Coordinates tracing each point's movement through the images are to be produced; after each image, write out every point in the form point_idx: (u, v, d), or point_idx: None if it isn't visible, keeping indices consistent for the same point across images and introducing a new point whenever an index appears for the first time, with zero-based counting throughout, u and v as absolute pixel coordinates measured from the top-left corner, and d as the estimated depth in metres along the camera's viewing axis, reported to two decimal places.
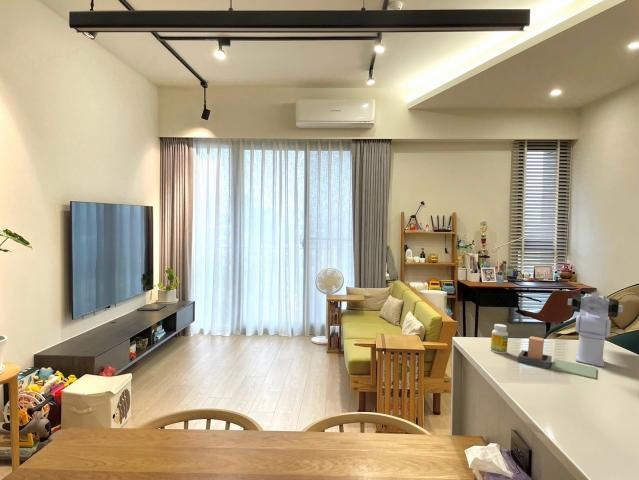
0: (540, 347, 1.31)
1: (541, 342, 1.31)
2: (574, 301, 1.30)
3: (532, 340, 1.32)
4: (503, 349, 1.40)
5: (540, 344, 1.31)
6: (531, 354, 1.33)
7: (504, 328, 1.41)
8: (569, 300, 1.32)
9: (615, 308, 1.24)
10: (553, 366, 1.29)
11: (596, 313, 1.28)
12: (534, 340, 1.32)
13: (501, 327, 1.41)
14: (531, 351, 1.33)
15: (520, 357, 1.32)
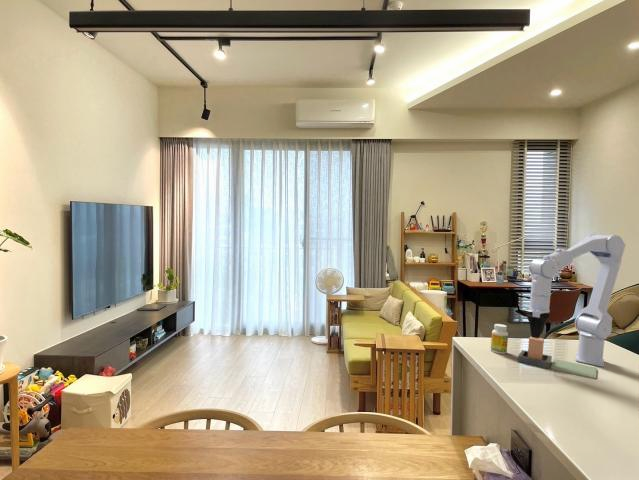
0: (540, 347, 1.31)
1: (541, 342, 1.31)
2: None
3: (532, 340, 1.32)
4: (503, 349, 1.40)
5: (540, 344, 1.31)
6: (531, 354, 1.33)
7: (504, 328, 1.41)
8: None
9: None
10: (553, 366, 1.29)
11: None
12: (534, 340, 1.32)
13: (501, 327, 1.41)
14: (531, 351, 1.33)
15: (520, 357, 1.32)
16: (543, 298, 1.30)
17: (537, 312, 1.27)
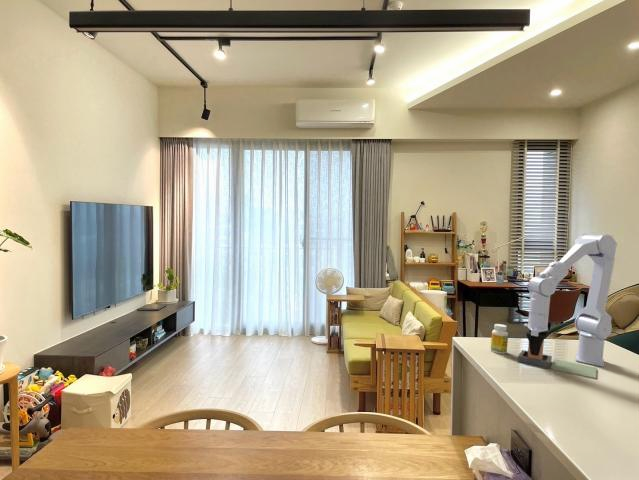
0: None
1: None
2: None
3: None
4: (503, 349, 1.40)
5: None
6: None
7: (504, 328, 1.41)
8: None
9: None
10: (553, 366, 1.29)
11: None
12: None
13: (501, 327, 1.41)
14: None
15: (520, 357, 1.32)
16: (541, 316, 1.30)
17: (535, 331, 1.27)
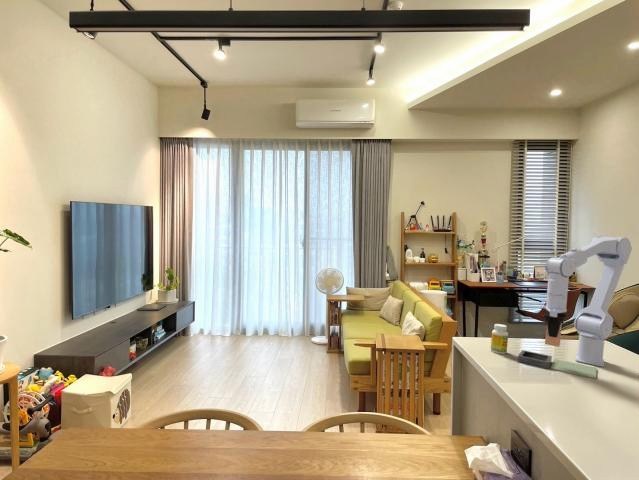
0: None
1: None
2: None
3: None
4: (503, 349, 1.40)
5: None
6: (549, 336, 1.30)
7: (504, 328, 1.41)
8: None
9: None
10: (553, 366, 1.29)
11: (564, 311, 1.29)
12: None
13: (501, 327, 1.41)
14: None
15: (520, 357, 1.32)
16: (560, 297, 1.28)
17: (554, 312, 1.25)
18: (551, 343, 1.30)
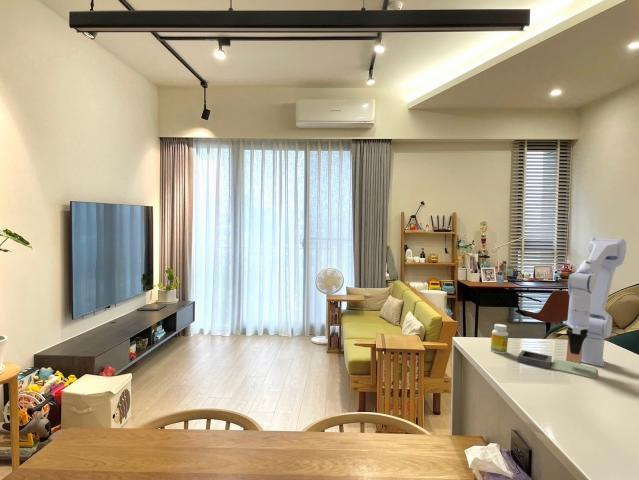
0: None
1: None
2: None
3: None
4: (503, 349, 1.40)
5: None
6: (570, 352, 1.28)
7: (504, 328, 1.41)
8: None
9: None
10: (553, 366, 1.29)
11: None
12: None
13: (501, 327, 1.41)
14: None
15: (520, 357, 1.32)
16: (583, 314, 1.26)
17: (577, 329, 1.22)
18: (573, 360, 1.28)
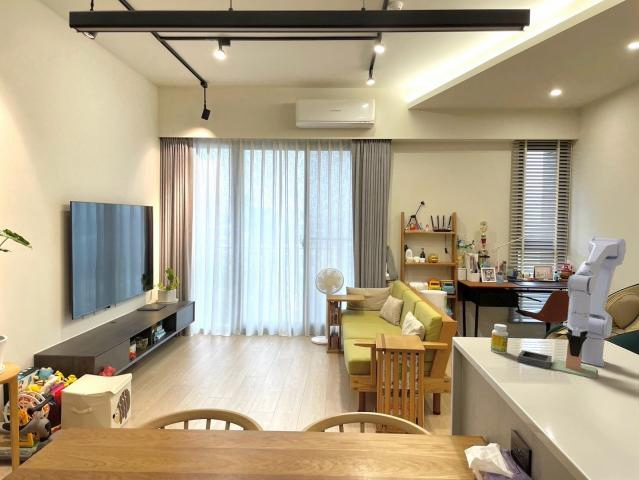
0: (580, 352, 1.26)
1: None
2: None
3: None
4: (503, 349, 1.40)
5: None
6: (570, 359, 1.28)
7: (504, 328, 1.41)
8: None
9: None
10: (553, 366, 1.29)
11: None
12: None
13: (501, 327, 1.41)
14: (570, 356, 1.28)
15: (520, 357, 1.32)
16: (582, 316, 1.26)
17: (577, 331, 1.22)
18: (572, 367, 1.28)
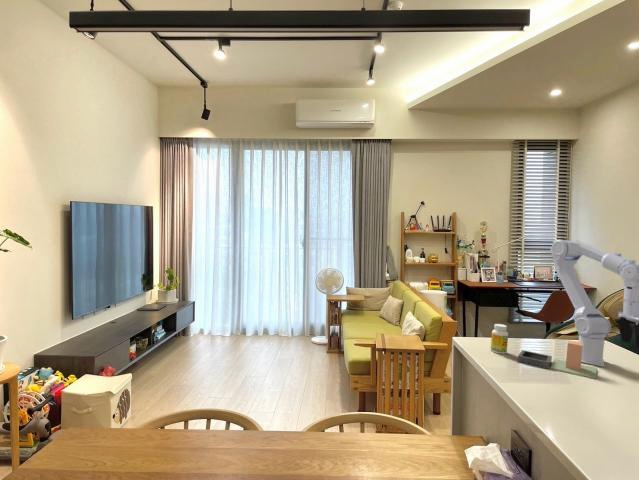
0: (580, 352, 1.26)
1: (581, 347, 1.26)
2: None
3: (571, 345, 1.28)
4: (503, 349, 1.40)
5: (580, 349, 1.26)
6: (570, 359, 1.28)
7: (504, 328, 1.41)
8: (620, 317, 1.32)
9: None
10: (553, 366, 1.29)
11: None
12: (573, 345, 1.27)
13: (501, 327, 1.41)
14: (570, 356, 1.28)
15: (520, 357, 1.32)
16: None
17: None
18: (572, 367, 1.28)
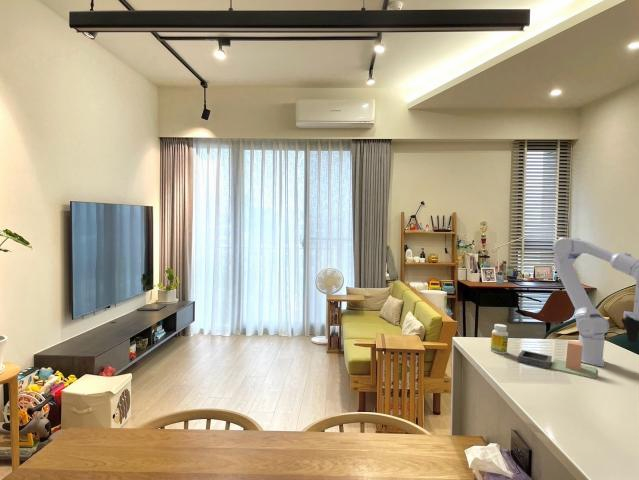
0: (580, 352, 1.26)
1: (581, 347, 1.26)
2: None
3: (571, 345, 1.28)
4: (503, 349, 1.40)
5: (580, 349, 1.26)
6: (570, 359, 1.28)
7: (504, 328, 1.41)
8: None
9: None
10: (553, 366, 1.29)
11: None
12: (573, 345, 1.27)
13: (501, 327, 1.41)
14: (570, 356, 1.28)
15: (520, 357, 1.32)
16: None
17: None
18: (572, 367, 1.28)
